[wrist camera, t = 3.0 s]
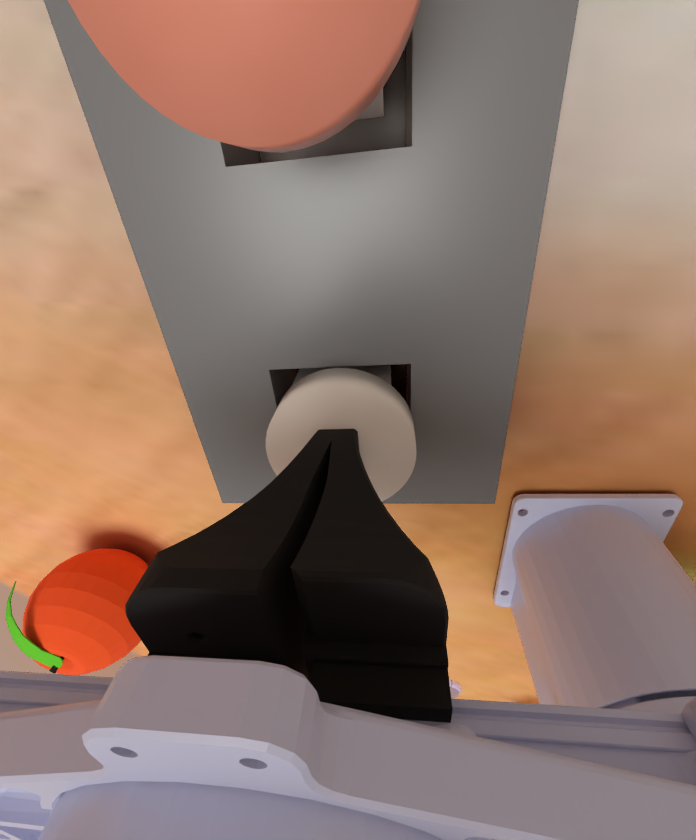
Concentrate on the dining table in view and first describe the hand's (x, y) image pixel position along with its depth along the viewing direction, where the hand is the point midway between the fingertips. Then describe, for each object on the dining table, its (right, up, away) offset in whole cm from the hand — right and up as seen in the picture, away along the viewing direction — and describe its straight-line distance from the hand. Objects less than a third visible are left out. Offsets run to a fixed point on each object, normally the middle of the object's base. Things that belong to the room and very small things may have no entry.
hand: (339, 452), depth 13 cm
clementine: (-15, -8, +13) cm, 22 cm away
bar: (0, +7, +1) cm, 8 cm away
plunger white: (0, +3, +4) cm, 5 cm away
